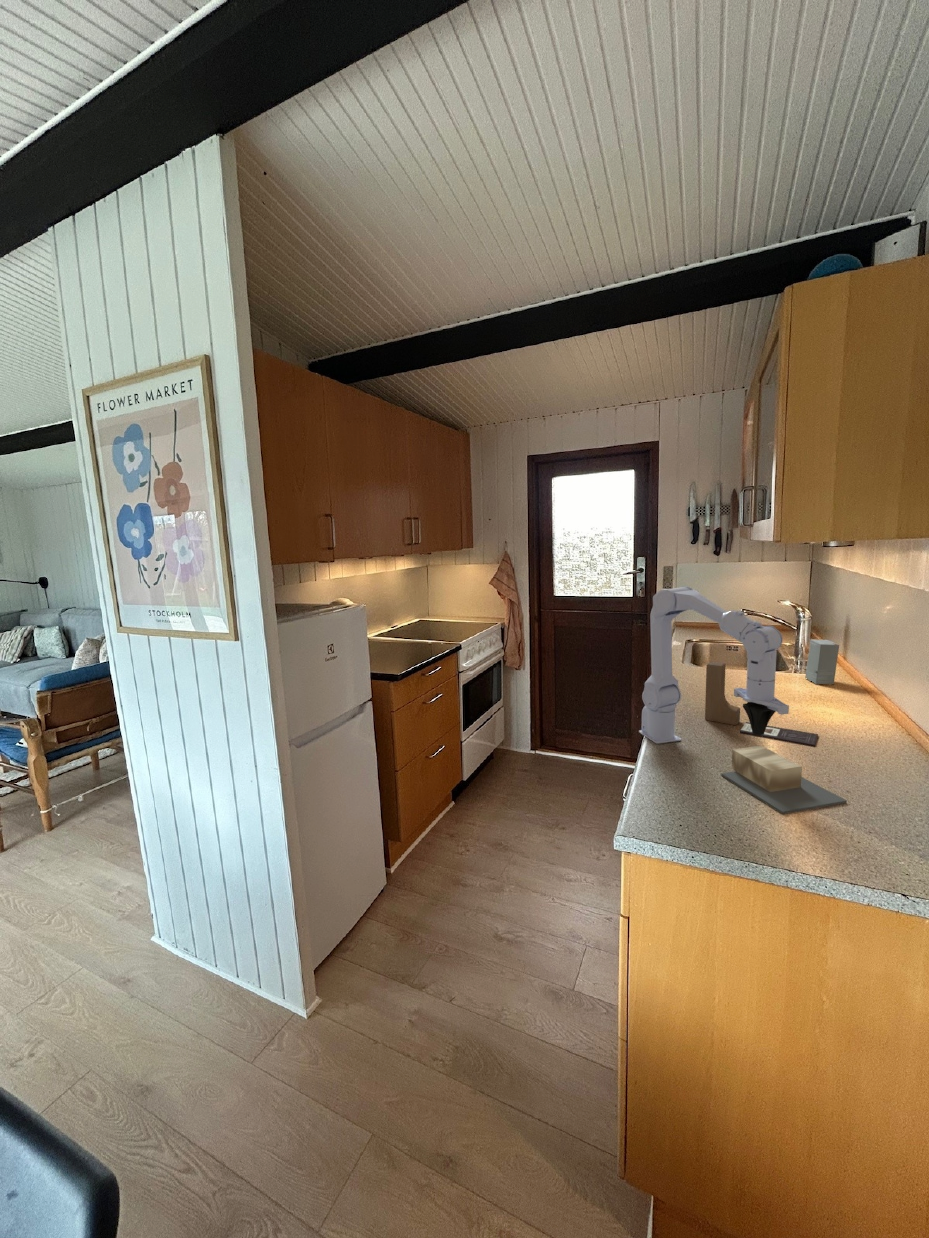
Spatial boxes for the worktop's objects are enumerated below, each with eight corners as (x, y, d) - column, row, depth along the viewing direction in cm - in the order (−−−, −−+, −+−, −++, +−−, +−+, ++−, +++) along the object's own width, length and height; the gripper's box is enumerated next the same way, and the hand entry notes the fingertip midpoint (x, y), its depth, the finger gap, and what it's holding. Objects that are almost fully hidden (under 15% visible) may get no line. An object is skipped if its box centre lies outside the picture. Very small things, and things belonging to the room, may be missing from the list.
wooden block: (739, 721, 155) (742, 664, 152) (736, 725, 151) (738, 668, 148) (708, 715, 160) (710, 661, 158) (704, 720, 157) (706, 664, 154)
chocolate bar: (814, 744, 134) (739, 731, 146) (814, 748, 135) (739, 734, 146) (818, 734, 141) (746, 721, 153) (817, 737, 141) (745, 724, 153)
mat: (721, 775, 121) (721, 773, 121) (778, 766, 124) (778, 764, 124) (782, 814, 103) (782, 811, 103) (846, 802, 107) (846, 800, 106)
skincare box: (804, 678, 195) (807, 639, 192) (825, 679, 193) (827, 638, 191) (815, 685, 186) (818, 643, 184) (837, 685, 185) (840, 643, 183)
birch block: (732, 749, 122) (771, 770, 110) (760, 745, 124) (802, 766, 112) (731, 768, 123) (770, 792, 111) (760, 764, 124) (800, 787, 113)
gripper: (723, 672, 123) (722, 725, 125) (770, 688, 109) (767, 747, 111) (748, 669, 124) (746, 721, 127) (798, 685, 110) (794, 743, 112)
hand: (758, 733), depth 119 cm, fingers closed
